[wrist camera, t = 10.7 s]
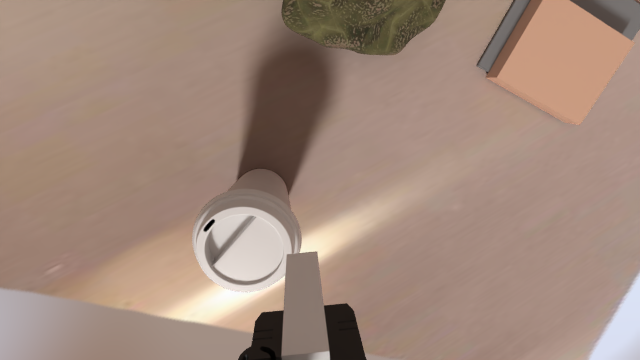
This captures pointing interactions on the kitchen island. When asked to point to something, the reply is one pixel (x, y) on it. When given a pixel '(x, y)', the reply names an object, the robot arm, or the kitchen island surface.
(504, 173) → the kitchen island surface
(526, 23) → the tile
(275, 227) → the coffee cup
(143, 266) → the kitchen island surface
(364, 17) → the decorative rock
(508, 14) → the mat
